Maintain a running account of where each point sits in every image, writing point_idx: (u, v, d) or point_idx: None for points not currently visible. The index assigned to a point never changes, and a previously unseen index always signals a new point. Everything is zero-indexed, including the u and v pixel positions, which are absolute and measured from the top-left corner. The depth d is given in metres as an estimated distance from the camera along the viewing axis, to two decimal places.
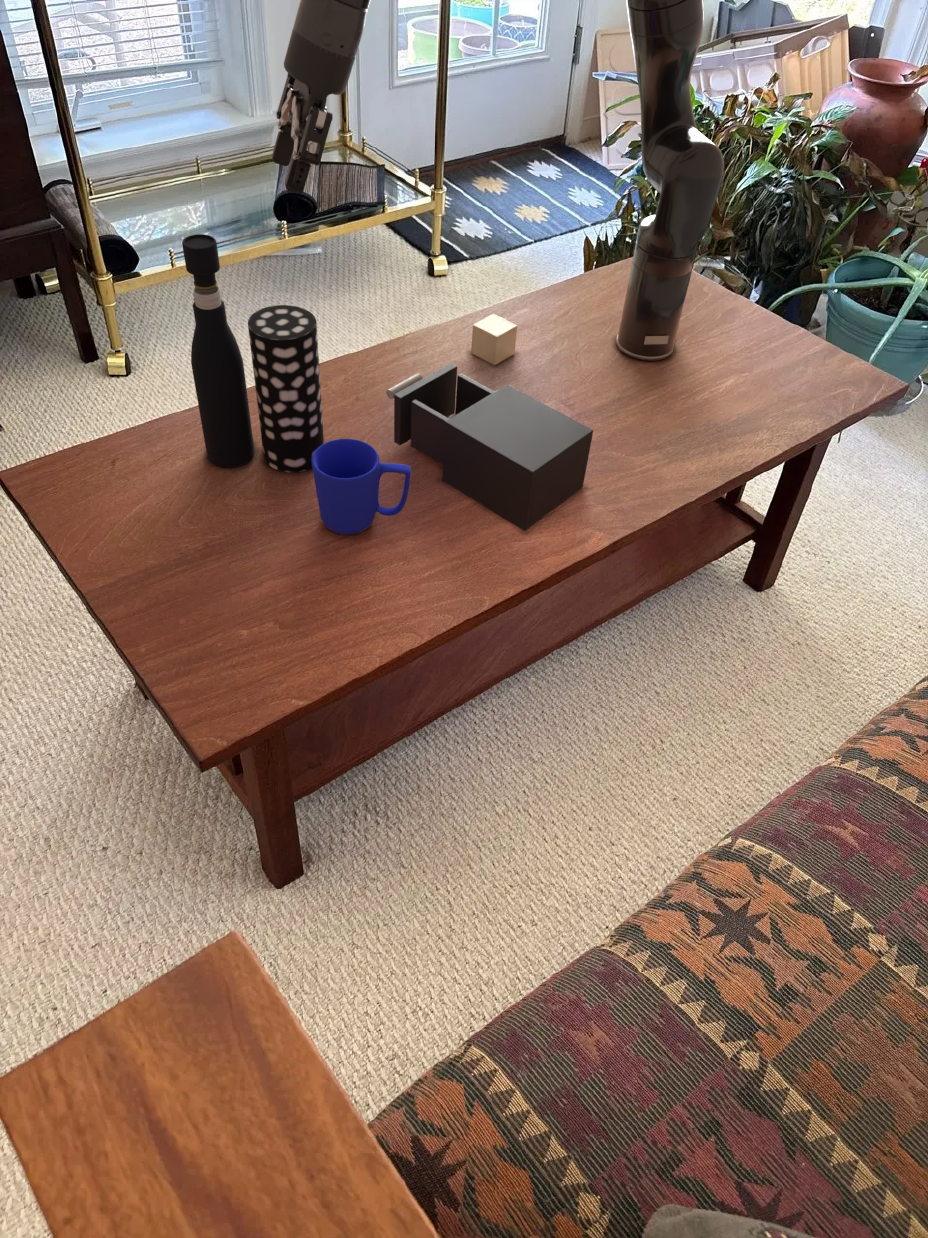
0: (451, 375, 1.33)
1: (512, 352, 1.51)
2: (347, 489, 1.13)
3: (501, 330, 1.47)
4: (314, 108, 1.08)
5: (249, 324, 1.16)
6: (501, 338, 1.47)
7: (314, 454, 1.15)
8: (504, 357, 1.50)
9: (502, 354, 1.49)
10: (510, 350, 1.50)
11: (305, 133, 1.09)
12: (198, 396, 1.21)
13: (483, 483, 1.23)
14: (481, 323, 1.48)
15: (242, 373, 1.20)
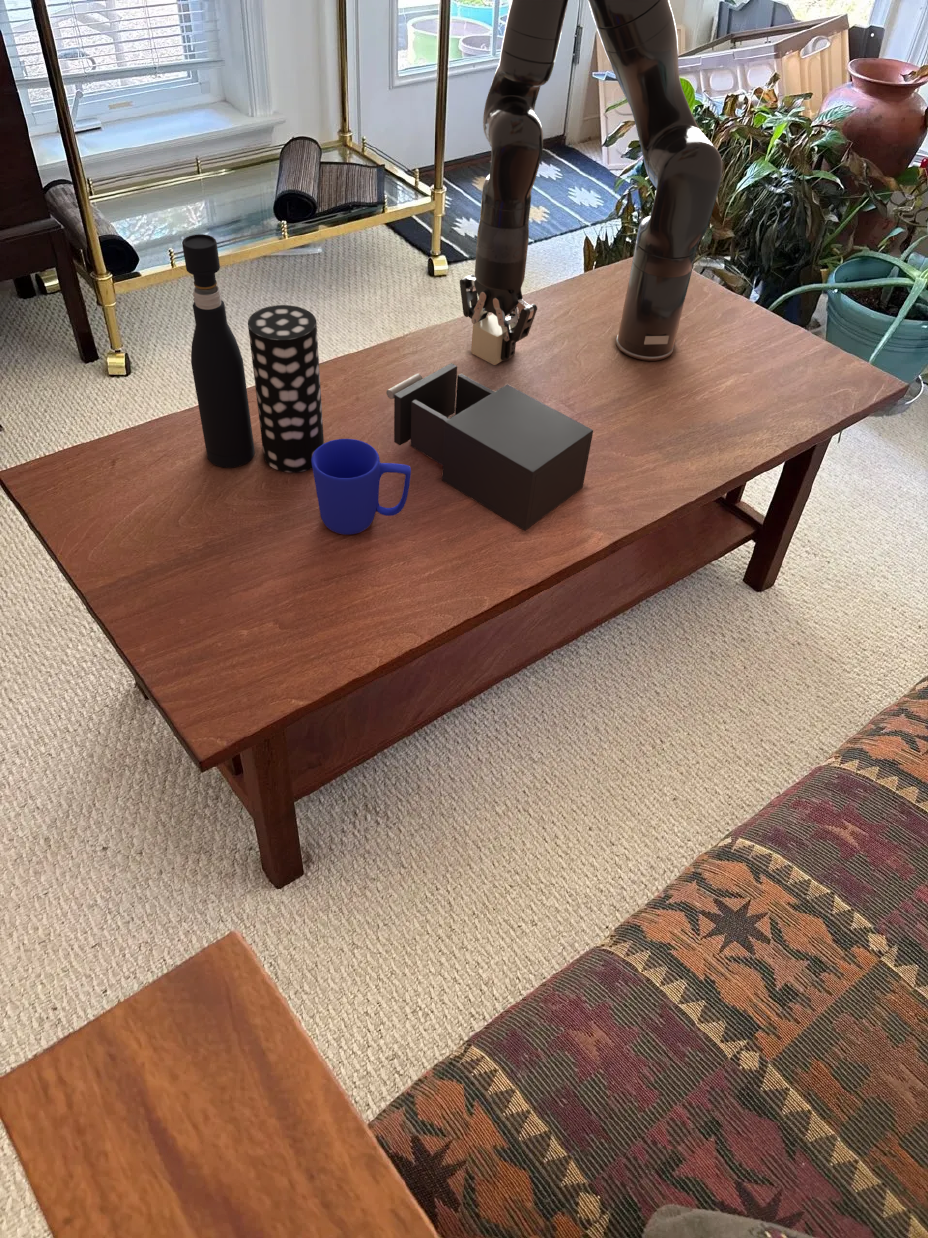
0: (451, 375, 1.33)
1: None
2: (347, 489, 1.13)
3: (501, 330, 1.47)
4: (527, 311, 1.41)
5: (249, 324, 1.16)
6: (501, 338, 1.47)
7: (314, 454, 1.15)
8: None
9: None
10: None
11: (520, 326, 1.43)
12: (198, 396, 1.21)
13: (483, 483, 1.23)
14: (481, 323, 1.48)
15: (242, 373, 1.20)
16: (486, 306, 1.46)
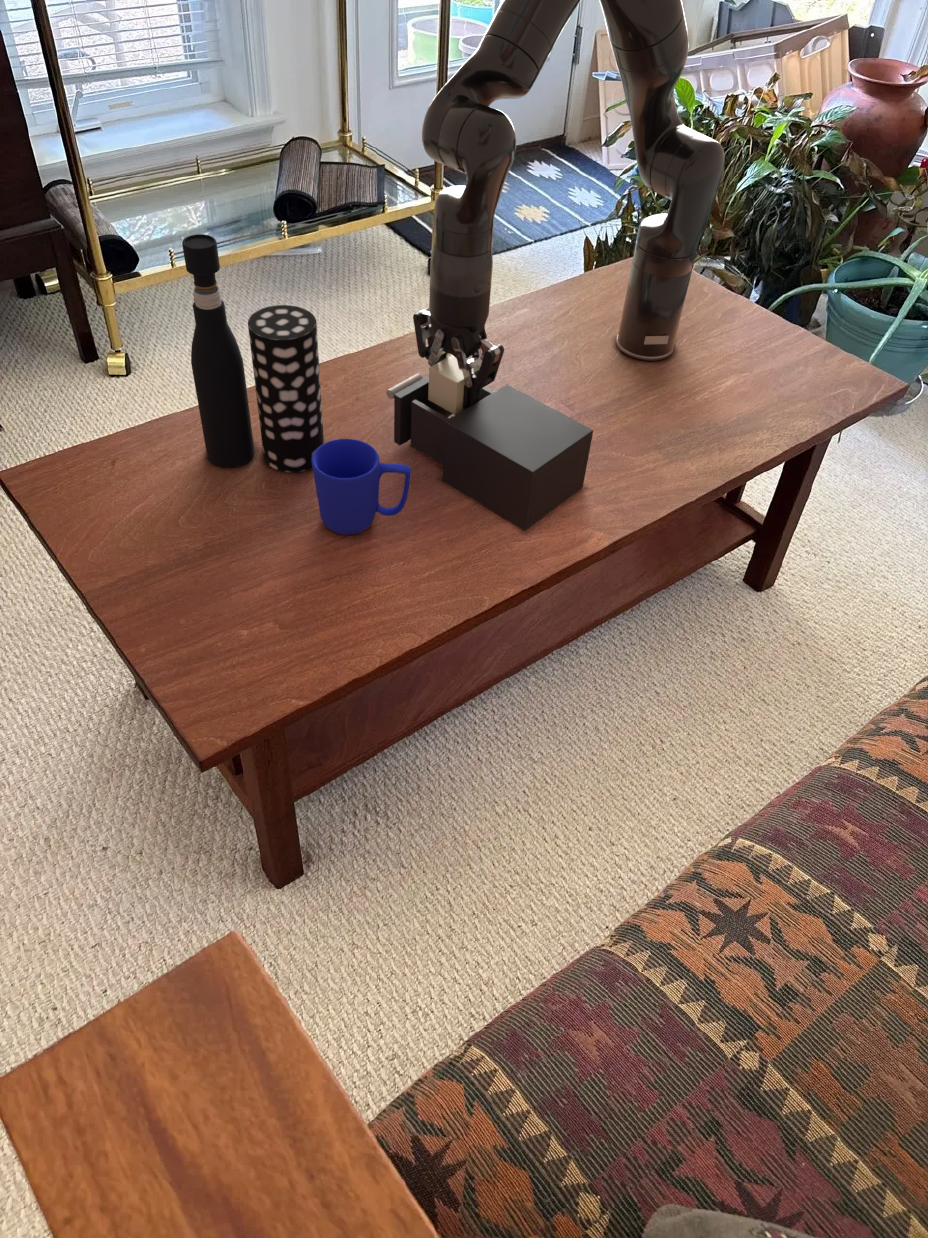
0: None
1: None
2: (347, 489, 1.13)
3: None
4: (492, 353, 1.17)
5: (249, 324, 1.16)
6: (462, 384, 1.23)
7: (314, 454, 1.15)
8: None
9: None
10: None
11: (484, 371, 1.20)
12: (198, 396, 1.21)
13: (483, 483, 1.23)
14: (439, 366, 1.25)
15: (242, 373, 1.20)
16: (444, 346, 1.22)
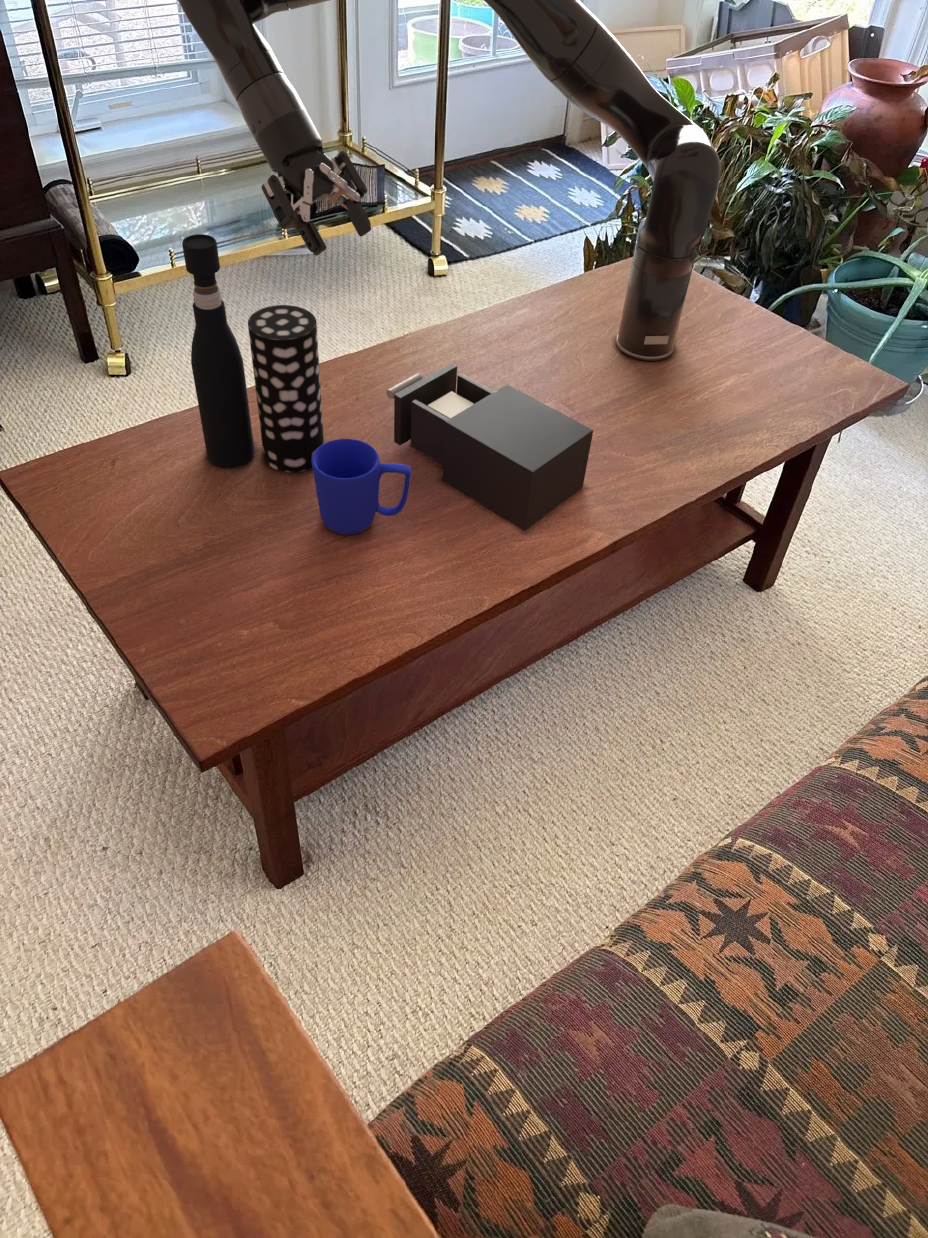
0: (451, 375, 1.33)
1: None
2: (347, 489, 1.13)
3: None
4: None
5: (249, 324, 1.16)
6: None
7: (314, 454, 1.15)
8: None
9: None
10: None
11: None
12: (198, 396, 1.21)
13: (483, 483, 1.23)
14: (437, 403, 1.29)
15: (242, 373, 1.20)
16: None
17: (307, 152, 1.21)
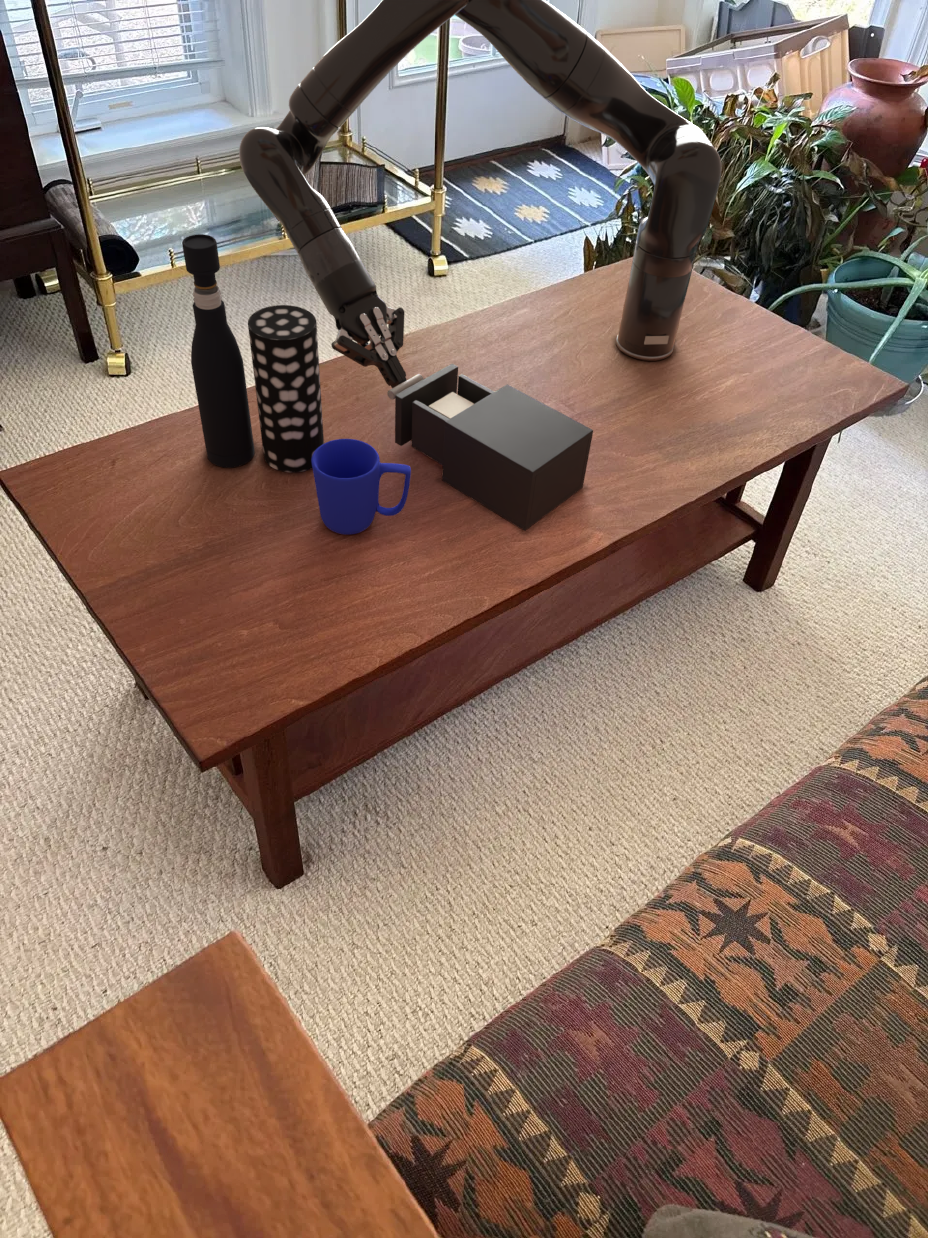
0: (452, 376, 1.33)
1: None
2: (347, 489, 1.13)
3: None
4: (332, 345, 1.30)
5: (249, 324, 1.16)
6: None
7: (314, 454, 1.15)
8: None
9: None
10: None
11: None
12: (198, 396, 1.21)
13: (483, 483, 1.23)
14: (438, 404, 1.29)
15: (242, 373, 1.20)
16: None
17: (362, 298, 1.31)
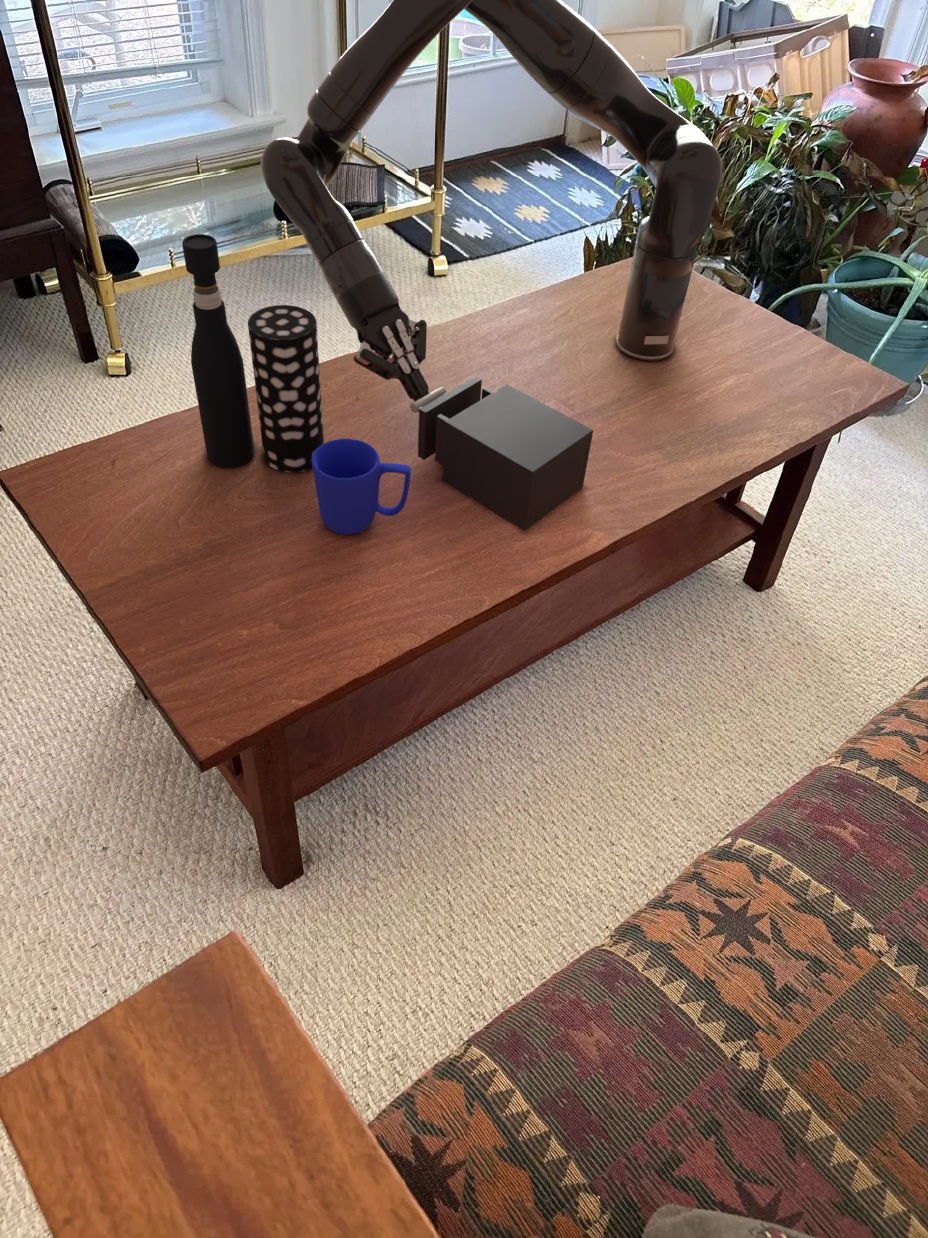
0: (476, 389, 1.31)
1: None
2: (347, 489, 1.13)
3: None
4: (354, 358, 1.28)
5: (249, 324, 1.16)
6: None
7: (314, 454, 1.15)
8: None
9: None
10: None
11: None
12: (198, 396, 1.21)
13: (483, 483, 1.23)
14: None
15: (242, 373, 1.20)
16: None
17: (384, 310, 1.29)
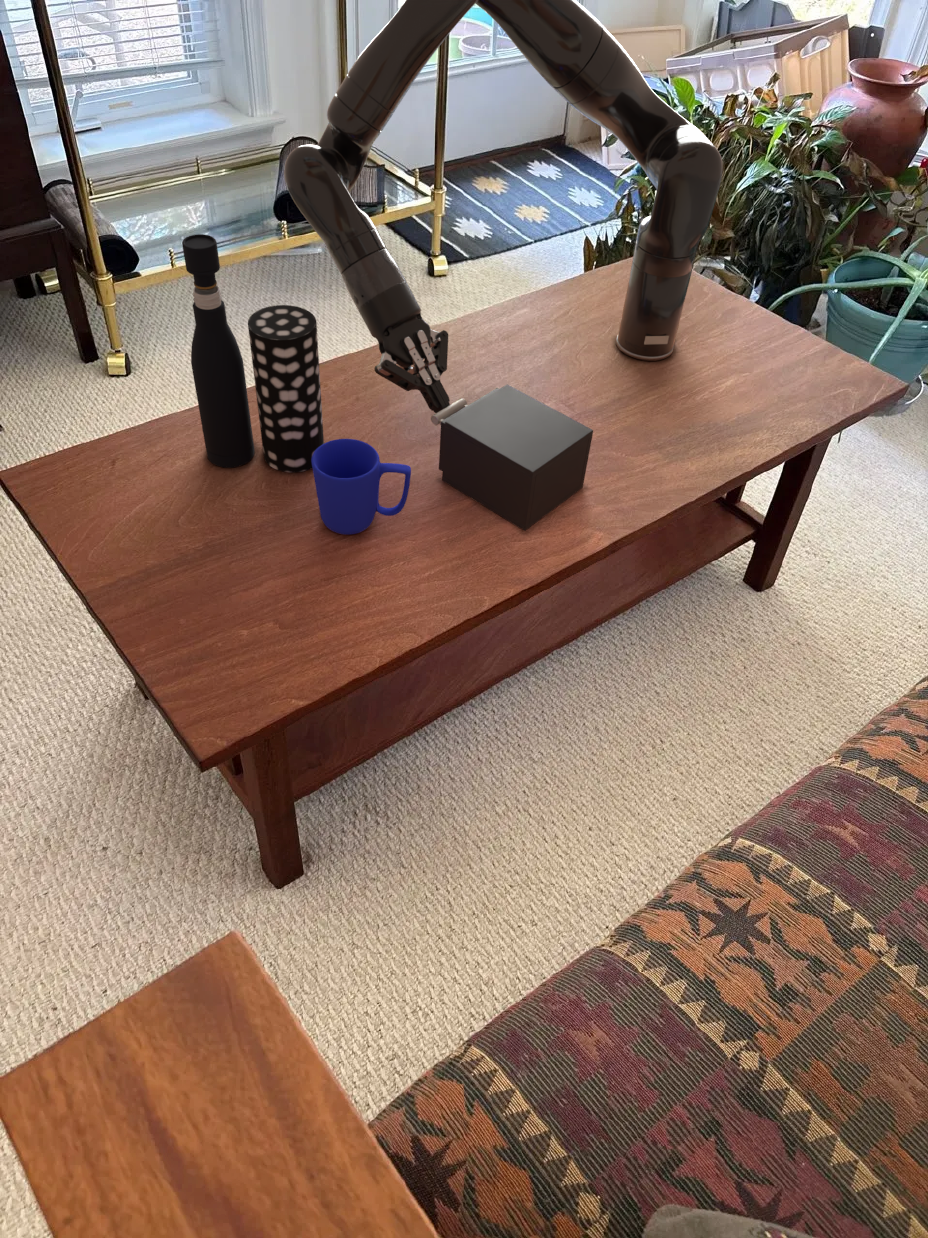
0: None
1: None
2: (347, 489, 1.13)
3: None
4: (375, 369, 1.26)
5: (249, 324, 1.16)
6: None
7: (314, 454, 1.15)
8: None
9: None
10: None
11: None
12: (198, 396, 1.21)
13: (483, 483, 1.23)
14: None
15: (242, 373, 1.20)
16: None
17: (406, 321, 1.27)
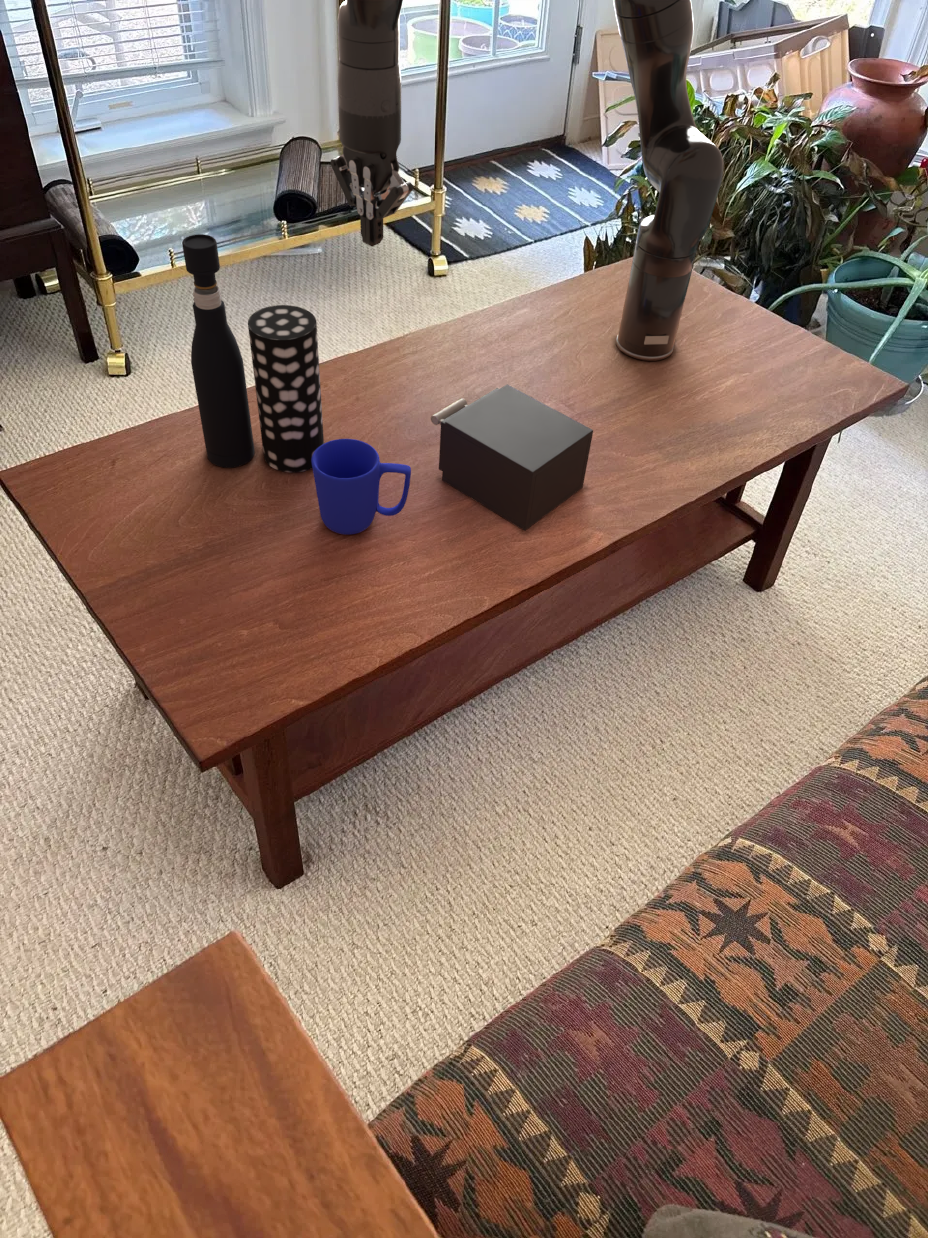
0: None
1: None
2: (347, 489, 1.13)
3: None
4: (400, 191, 1.16)
5: (249, 324, 1.16)
6: None
7: (314, 454, 1.15)
8: None
9: None
10: None
11: (388, 204, 1.18)
12: (198, 396, 1.21)
13: (483, 483, 1.23)
14: None
15: (242, 373, 1.20)
16: (363, 180, 1.19)
17: None
